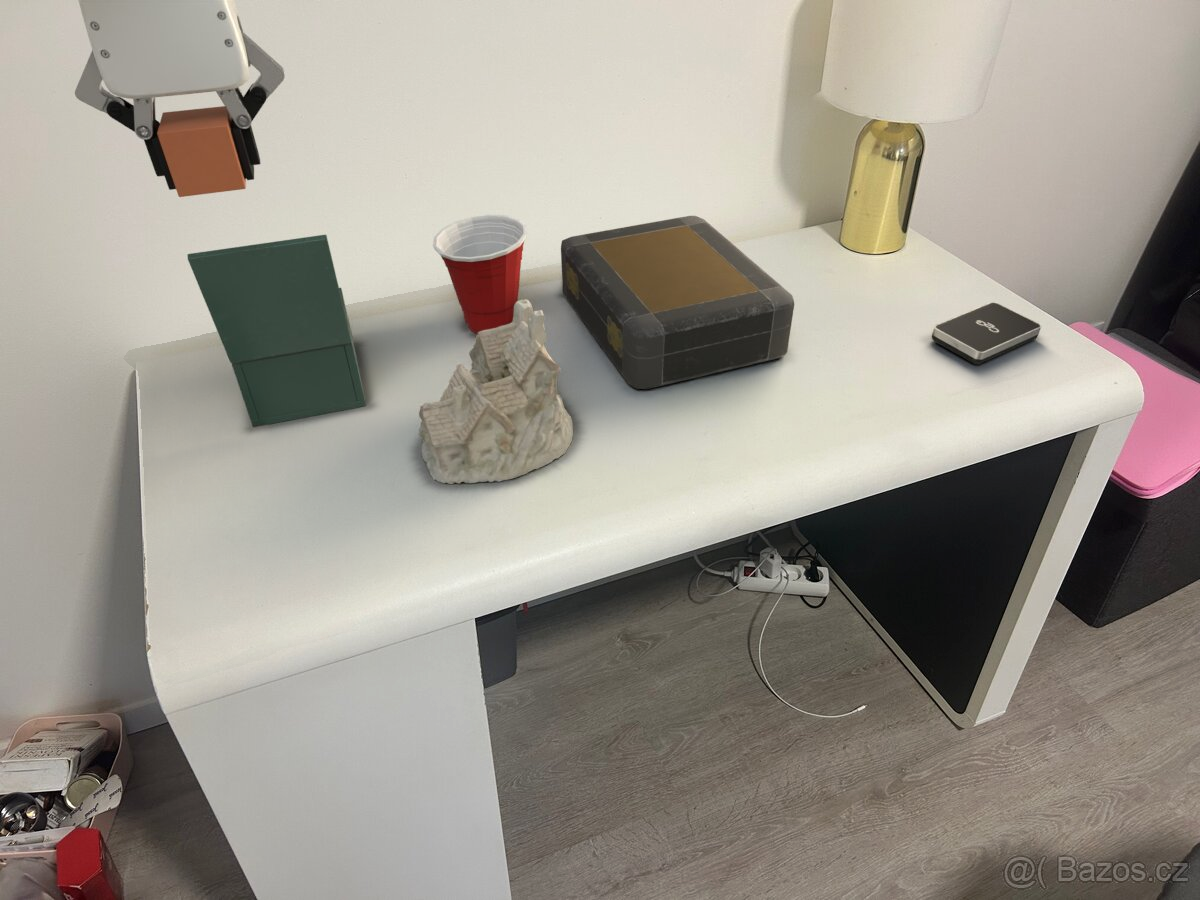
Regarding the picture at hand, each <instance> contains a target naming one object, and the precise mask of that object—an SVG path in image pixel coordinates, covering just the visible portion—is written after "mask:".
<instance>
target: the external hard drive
mask: <svg viewBox="0 0 1200 900" xmlns="http://www.w3.org/2000/svg"><path fill="white" fill-rule="evenodd" d="M1041 328H1042V324H1041V323H1039V322H1037V321H1035V320H1034V319H1031V318H1029V317H1027V316H1025V315H1023V314H1021V313H1019V312H1017V311H1014V310H1013V309H1010V307H1009V308H1008V307H1006V306H1004V305H1003V304H1000V303H998V302H995V301H991V302H987V303H986V304H984V305H981V306H979V307H975V308H974V309H971V310H969V311H966V312H964V313H961V314H959V315H957V316H954V317H952V318H949V319H946V320H944V321H941V322H939V323H936V324H935V325H934V326H933V329H932V332H931V340H932V341H933V342H935V343H936V344H938V345H940V346H942V347H943V348H945V349H947V350H949V351H951V352H953V353H954V354H956V355H958V356H960V357H961V358H963V359H965V360H966V361H968V362H970V363H971V364H973V365H980V364H982V363H984V362H986V361H989V360H992V359H993V358H996V357H998V356H1000V355H1002V354H1005V353H1007V352H1009V351H1011V350H1014V349H1016V348H1019V347H1020V346H1023V345H1025V344H1027V343H1029V342H1031V341H1033V340H1035V339H1037V338H1038V336H1039V334H1040V332H1041Z"/></svg>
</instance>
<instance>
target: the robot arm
mask: <svg viewBox="0 0 1200 900" xmlns="http://www.w3.org/2000/svg"><path fill="white" fill-rule="evenodd" d="M78 4H79V7H80V11H81V15H82V19H83V22H84V26H85V30H86V33H87V36H88V40H89V43H90V46H91V52H90V55H89V57H88V59H87V62H86V64H85V67H84V69H83V71H82V74H81V76H80V77H79V80H78V83H77V85H76V88H75V90H74V95H75V97H76V99H77V100H79V101H80V102H82V103H84V104H86V105H88V106H90V107H92V108H93V109H96V110H97V111H100V112H102V113H105V114H107V115H108V117H110V118H111V119H113V120H114V121H116V122H118V123H119V124H121V125H122V126H124V127H126V128H128V129H129V130H131V131H132V132H134V133H135V135H136V136H137V137H138V138H139V139H141V140H143V142H144V145H145V147H146V150H147V153H148V156H149V158H150V161H151V164H152V167H153V170H154V173H155V175H156V177H164V179H165V182H166V185H167V187H168V190H169V191H170V190H171V191H172V190H176V187H175V184H174V181H173V178H172V176H171V173H170V170H169V167H168V164H167V161H166V158H165V155H164V152H163V149H162V146H161V143H160V141H159V138H158V135H157V132H158V128H159V125H160V121H158V120H157V112H156V111H157V108H156V107H157V106H156V98H163V97H174V96H184V95H185V96H186V95H193V94H202V93H204V94H205V93H212V92H216V94H217V96H218V97H219V99H220V100H221V102H222V104H223V106H225V107H226V109H227V110H228V112H229V114H230V115H231V122H232V129H231V133H232V137H233V140H234V144H235V147H236V151H237V154H238V158H239V161H240V165H241V168H242V172H243V175H244V178H245V179H246V181H253V180H255V166H258V165H261V157H260V153H259V149H258V146H257V142H256V139H255V135H254V131H253V127H252V122H253V121H254V119H255V118H256V117H257V115H258V113H259V112H260V110H261V109H262V108H263V106H264V104H265V103H266V102H267V99H268V98H269V97H270V96H271V95H272V94H273V93H274V92H275V91H276V90H277V88H278V87H279V86H280V85H281V84H282V83H283V82H284V80H285V75H286V74H285V69H284V67H283V66H281V64H279V63H278V62H277V61H276V60H275V59H274V58H273V57H272V56H271V55H270V54H269V53H267V52H266V51H265V49H263V48H262V47H261V46H259V45H258V44H257V43H256V42H255V41H254V40H253V39H252V38H251V37H249V35H247V34H246V33H245V32H244V28H243V25H242V21H241V18H240V15H239V12H238V9H237V5H236V2H235V0H78ZM251 65H252V66H253V67H254V68H255V69H256V70H257V71H258V73H260V75H258V77H257V79H256V80H255V82H253V83H252V84H251V85H250V86H249V88H248V89H247V91H246V92H245V94H243V92H242V90H241V88H240V87H242V86H243V85H244V84H246V83H247V82H249V79H250V67H251ZM102 82H103V83H104V85H105V87H106V88H107V90H106V89H105V88H104V86H103V85H102ZM126 99H132V100H133V104H132V103H131V102H129V101H127V100H126Z"/></svg>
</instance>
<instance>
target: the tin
mask: <svg viewBox="0 0 1200 900" xmlns="http://www.w3.org/2000/svg"><path fill="white" fill-rule="evenodd" d="M339 290H340V294H341V299H342V303H343V307H344V311H345V316H346V320H347V324H348V328H349V333H350V337H351V343H345V344H340V345H334V346H328V347H322V348H316V349H311V350H305V351H299V352H293V353H287V354H282V355H276V356H270V357H264V358H258V359H253V360H247V361H241V362H235V363H231V367H232V370H233V373H234V375H235V379H236V381H237V384H238V387H239V391H240V394H241V396H242V399H243V402H244V404H245V405H244V406H245V408H246V411H247V414H248V417H249V420H250V423H251V425H252V428H257V427H262V426H267V425H272V424H277V423H278V424H279V423H283V422H289V421H294V420H298V419H299V420H300V419H304V418H309V417H314V416H319V415H325V414H330V413H336V412H340V411H347V410H352V409H356V408H361V407H366V406H367V403H366V398H365V392H364V387H363V382H362V378H361V372H360V371H361V370H360V366H359V362H358V357H357V352H356V346H355V342H354V337H353V333H352V328H351V324H350V320H349V315H348V311H347V307H346V303H345V298H344V294H343V289H342V287H339Z"/></svg>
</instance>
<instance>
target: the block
mask: <svg viewBox="0 0 1200 900" xmlns="http://www.w3.org/2000/svg"><path fill="white" fill-rule="evenodd" d="M159 123H160V125H159V128H158V132H157V135H158V138H159V141H160V143H161V146H162V149H163V152H164V155H165V158H166V161H167V164H168V167H169V170H170V173H171V176H172V178H173V181H174V184H175V187H176V189H175V190H176V192H177V196H178V197H179V198H184V197H193V196H199V195H209V194H217V193H224V192H225V193H226V192H232V191H240V190H246V187H247V179H245V178H244V175H243V172H242V168H241V165H240V161H239V158H238V154H237V151H236V147H235V144H234V140H233V137H232V133H231V129H232V122H231V115H230V114H229V112H228V110H227V109H226V107H225V105H223V106H214V107H213V106H212V107H203V108H194V109H183V110H173V111H164V112H162V114H161V118H160V121H159Z"/></svg>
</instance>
